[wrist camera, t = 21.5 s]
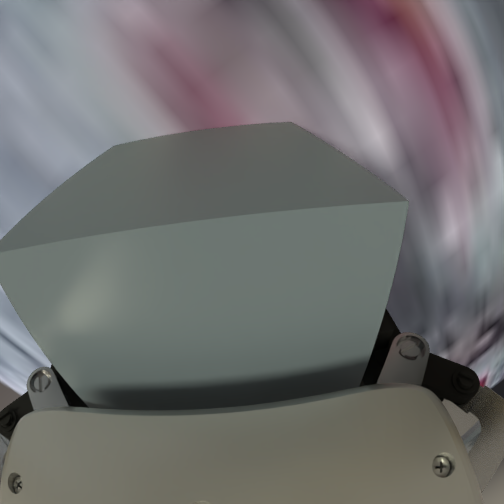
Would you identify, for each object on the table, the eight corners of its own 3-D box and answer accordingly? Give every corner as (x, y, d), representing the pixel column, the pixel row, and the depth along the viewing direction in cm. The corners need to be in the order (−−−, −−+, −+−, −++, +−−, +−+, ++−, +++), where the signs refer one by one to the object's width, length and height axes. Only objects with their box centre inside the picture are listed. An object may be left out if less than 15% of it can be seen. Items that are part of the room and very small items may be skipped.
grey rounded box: (113, 145, 11) (-14, 255, 4) (290, 122, 12) (409, 201, 4) (151, 286, 15) (121, 439, 8) (293, 270, 16) (344, 421, 8)
